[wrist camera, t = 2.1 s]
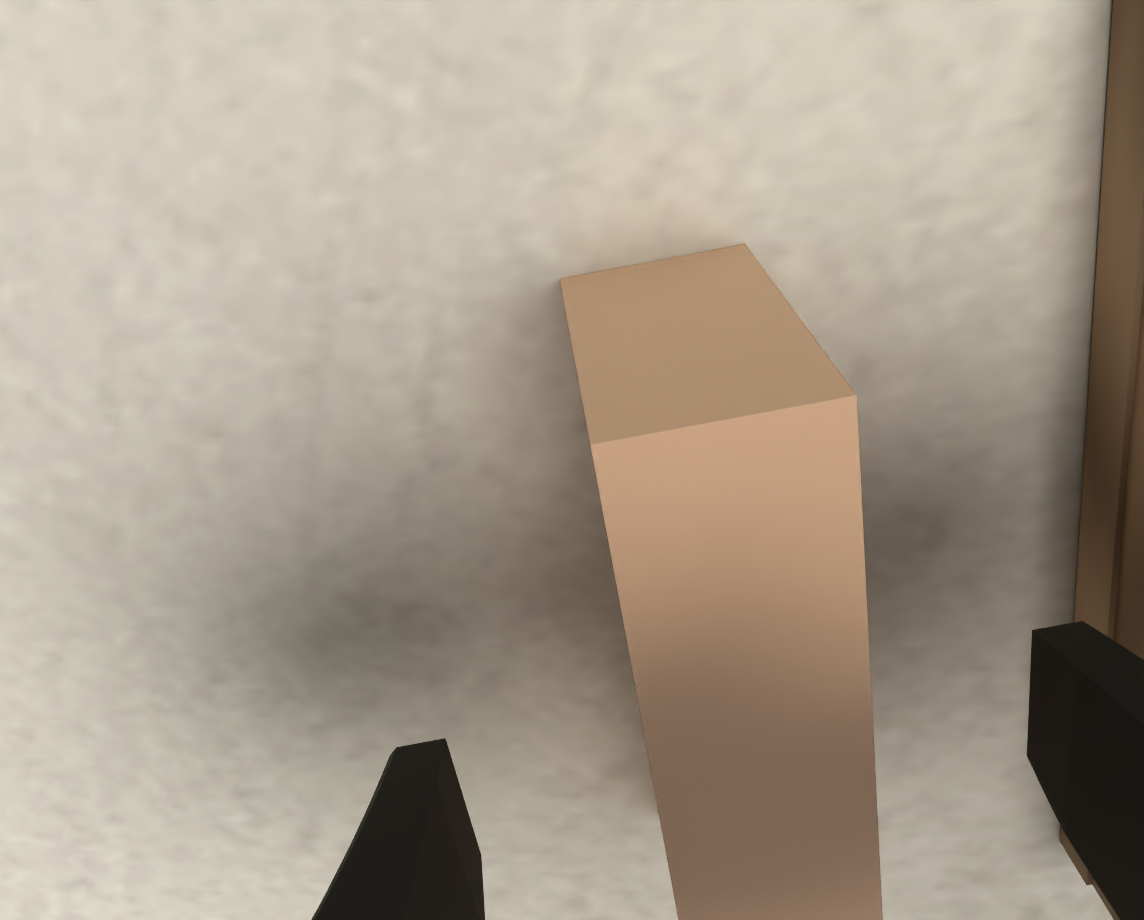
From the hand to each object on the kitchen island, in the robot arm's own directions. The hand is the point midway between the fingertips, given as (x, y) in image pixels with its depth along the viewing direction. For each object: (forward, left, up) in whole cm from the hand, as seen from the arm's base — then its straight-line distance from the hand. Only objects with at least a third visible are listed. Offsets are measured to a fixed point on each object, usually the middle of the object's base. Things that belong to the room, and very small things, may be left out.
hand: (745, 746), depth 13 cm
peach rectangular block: (0, 0, -4) cm, 4 cm away
